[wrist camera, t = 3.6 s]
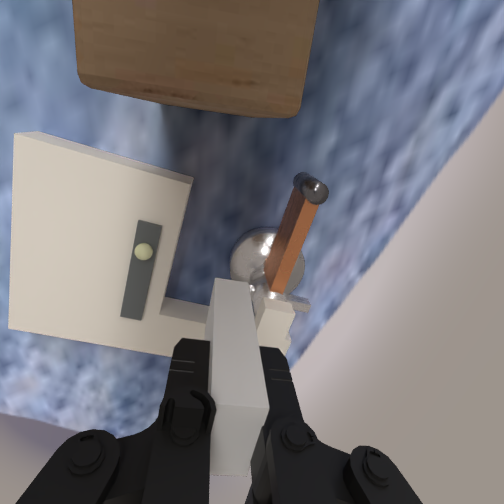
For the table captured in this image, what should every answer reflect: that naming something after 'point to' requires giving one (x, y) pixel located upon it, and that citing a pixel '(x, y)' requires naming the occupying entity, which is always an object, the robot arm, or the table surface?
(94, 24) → the wooden block
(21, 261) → the stand
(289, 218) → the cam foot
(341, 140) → the table surface
